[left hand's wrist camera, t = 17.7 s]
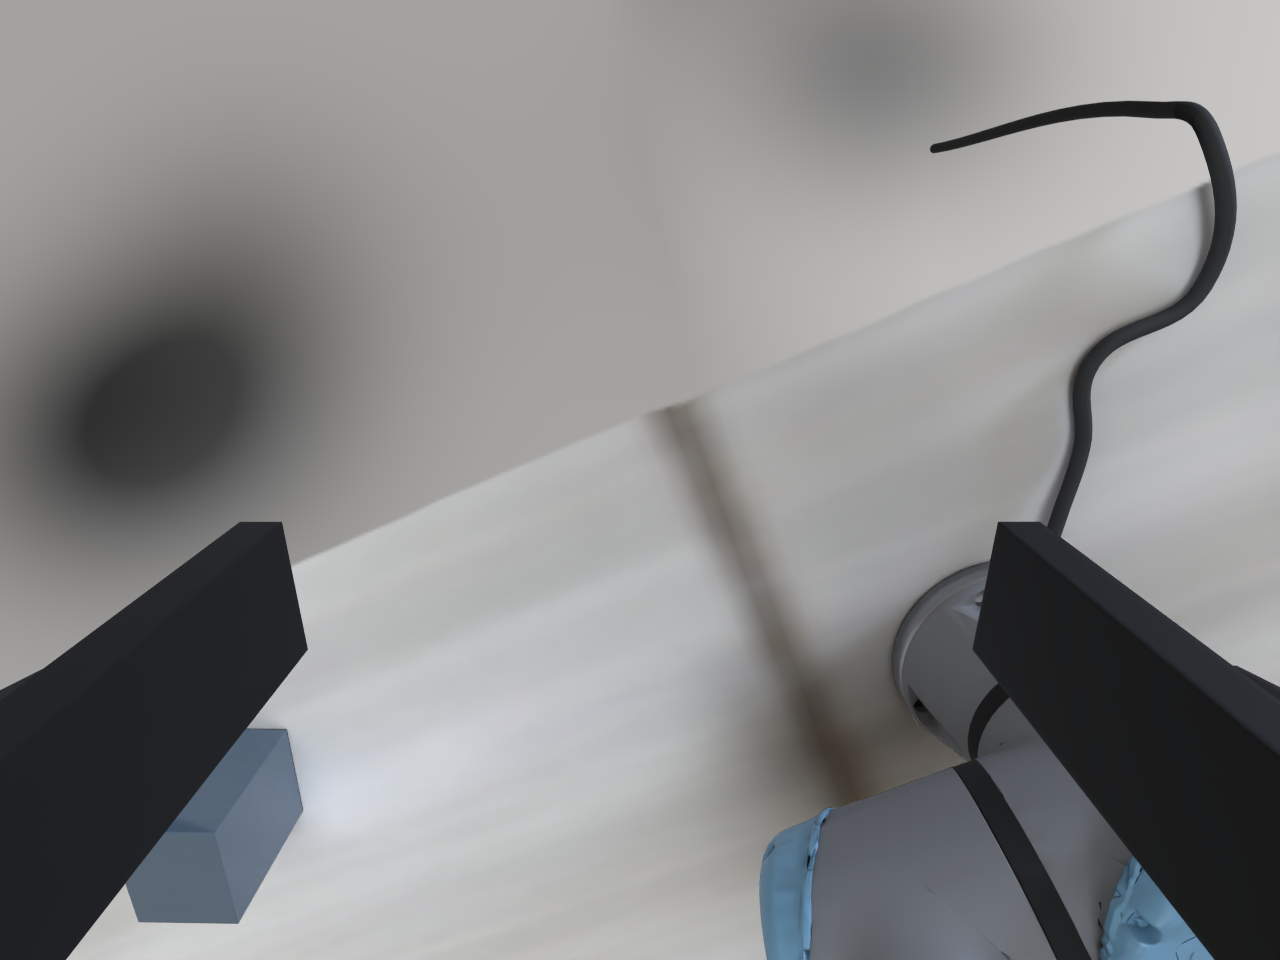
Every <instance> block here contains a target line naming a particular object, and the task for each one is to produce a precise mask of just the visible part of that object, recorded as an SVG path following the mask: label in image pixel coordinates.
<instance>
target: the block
mask: <svg viewBox="0 0 1280 960" xmlns="http://www.w3.org/2000/svg"><path fill="white" fill-rule="evenodd" d="M302 812H303V809H302V804H301V799H300V794H299V789H298V784H297V779H296V774H295V769H294V764H293V759H292V754H291V749H290V744H289V739H288V735H287V730H280V729H245V731H244V732H243V733H242V734H241V736H240V737H239V738H238V740H237V741H236V742H235V743H234V745H233V746H232V747H231V749H230V750H229V751H228V752H227V754H226V755H225V756H224V758H223V759H222V760H221V761H220V763H219V764H218V765H217V767H216V768H215V769H214V770H213V772H212V773H211V774H210V775H209V777H208V778H207V779H206V781H205V782H204V783H203V784H202V786H201V787H200V788H199V790H198V791H197V792H196V793H195V795H194V796H193V797H192V799H191V800H190V801H189V802H188V804H187V805H186V806H185V808H184V809H183V810H182V811H181V813H180V814H179V815H178V817H177V818H176V819H175V820H174V822H173V823H172V824H171V825H170V827H169V828H168V829H167V831H166V832H165V833H164V834H163V836H162V837H161V838H160V840H159V841H158V842H157V843H156V845H155V846H154V847H153V849H152V850H151V851H150V852H149V854H148V855H147V856H146V858H145V859H144V860H143V861H142V863H141V864H140V865H139V867H138V868H137V869H136V870H135V872H134V873H133V874H132V876H131V877H130V878H129V879H128V881H127V882H126V883H125V884H126V887H127V890H128V892H129V895H130V898H131V901H132V904H133V907H134V910H135V913H136V916H137V919H138V922H159V923H224V924H238V923H239V922H240V920H241V918H242V916H243V915H244V913H245V911H246V909H247V908H248V906H249V904H250V902H251V901H252V899H253V897H254V895H255V894H256V892H257V890H258V888H259V887H260V885H261V883H262V881H263V880H264V878H265V876H266V874H267V873H268V871H269V869H270V867H271V866H272V864H273V862H274V860H275V859H276V857H277V855H278V853H279V852H280V850H281V848H282V846H283V845H284V843H285V841H286V840H287V838H288V836H289V834H290V833H291V831H292V829H293V827H294V826H295V824H296V822H297V820H298V819H299V817H300V815H301V813H302Z"/></svg>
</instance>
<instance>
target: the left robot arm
mask: <svg viewBox="0 0 1280 960" xmlns="http://www.w3.org/2000/svg"><path fill="white" fill-rule="evenodd" d="M1098 117H1139V118H1154V119H1179V120H1183V121H1185V122H1187V123H1188V124H1189V125H1191V126H1192V128H1193V129H1194V131H1195V133H1196V135H1197V137H1198V140H1199V143H1200V145H1201V148H1202V150H1203V153H1204V157H1205V159H1206V163H1207V166H1208V170H1209V173H1210V177H1211V182H1212V187H1213V194H1214V202H1215V225H1214V233H1213V239H1212V243H1211V247H1210V250H1209V253H1208V256H1207V259H1206V261H1205V264H1204V266H1203V268H1202V270H1201V273H1200V274H1199V276H1198V278H1197V280H1196V282H1195V284H1194V285H1193V287H1192V288H1191V289H1190V291H1189V292H1188V294H1187V295H1185V296H1184V297H1183V298H1182V299H1181V300H1180V301H1179V302H1177V303H1176V304H1175V305H1173V306H1172V307H1170V308H1168V309H1166V310H1164V311H1162V312H1160V313H1158V314H1155V315H1153V316H1150V317H1148V318H1145V319H1143V320H1140V321H1138V322H1135V323H1133V324H1130V325H1128V326H1126V327H1123V328H1121V329H1120V330H1118V331H1116V332H1114V333H1112V334H1111V335H1109V336H1108V337H1106V338H1105V339H1103V340H1102V341H1101V342H1100V343H1099V344H1098V345H1096V346H1095V347H1094V348H1093V349H1092V350H1091V352H1090V353H1089V354H1088V356H1087V357H1086V358H1085V360H1084V361H1083V363H1082V365H1081V367H1080V368H1079V371H1078V373H1077V376H1076V379H1075V383H1074V389H1073V410H1074V420H1075V440H1074V446H1073V450H1072V455H1071V458H1070V462H1069V465H1068V469H1067V472H1066V475H1065V477H1064V480H1063V483H1062V486H1061V488H1060V491H1059V494H1058V497H1057V499H1056V502H1055V505H1054V508H1053V511H1052V514H1051V517H1050V520H1049V523H1048V526H1047V527H1046V526H1045V525H1043V524H1042V523H1041V522H998V525H997V530H996V535H995V540H994V545H993V550H992V555H991V560H990V562H988V563H984V564H980V565H976V566H973V567H971V568H968V569H965V570H963V571H961V572H959V573H956V574H954V575H953V576H951V577H949V578H947V579H945V580H944V581H942V582H941V583H939V584H938V585H936V586H935V587H934V588H933V589H931V590H930V591H929V592H928V593H927V594H926V595H924V596H923V597H922V598H921V599H920V600H919V601H918V603H917V604H916V605H915V606H914V607H913V608H912V610H911V611H910V613H909V614H908V615H907V617H906V619H905V620H904V622H903V624H902V626H901V628H900V630H899V632H898V635H897V638H896V641H895V645H894V650H893V674H894V678H895V682H896V684H897V687H898V689H899V691H900V693H901V695H902V697H903V699H904V700H905V702H906V704H907V706H908V708H909V710H910V712H911V714H912V716H913V718H914V717H915V718H916V719H917V720H918V722H919V723H920V724H921V725H922V726H924V727H925V728H926V729H927V730H928V731H930V732H931V733H932V734H934V735H935V736H936V737H937V738H939V739H940V740H941V741H942V742H944V743H945V744H946V745H948V746H949V747H950V748H951V749H953V750H954V751H955V752H956V753H958V754H959V755H960V756H961V757H963V758H964V759H965V760H967V761H968V762H966V763H963V764H960V765H958V766H955V767H950V768H948V769H945V770H942V771H940V772H937V773H934V774H931V775H929V776H926V777H923V778H920V779H918V780H915V781H912V782H909V783H907V784H904V785H901V786H899V787H896V788H893V789H890V790H888V791H885V792H882V793H879V794H876V795H873V796H870V797H867V798H864V799H862V800H859V801H856V802H853V803H850V804H847V805H844V806H841V807H838V808H827V809H824V810H823V811H822V812H821V813H820V814H819V815H818V816H816V817H814V818H811V819H809V820H807V821H805V822H803V823H800V824H798V825H795V826H793V827H791V828H788V829H786V830H784V831H782V832H780V833H778V834H777V835H776V836H775V837H774V838H773V839H772V840H771V841H770V843H769V844H768V846H767V848H766V851H765V853H764V856H763V861H762V868H761V871H760V893H759V894H760V911H761V922H762V931H763V938H764V945H765V951H766V957H767V960H1280V687H1278V686H1276V685H1274V684H1272V683H1270V682H1268V681H1266V680H1264V679H1262V678H1260V677H1258V676H1256V675H1254V674H1252V673H1250V672H1248V671H1246V670H1244V669H1242V668H1240V667H1238V666H1232V665H1231V664H1230V663H1228V662H1227V661H1226V660H1224V659H1223V658H1222V657H1220V656H1219V655H1218V654H1216V653H1215V652H1214V651H1212V650H1211V649H1210V648H1208V647H1207V646H1206V645H1204V644H1203V643H1202V642H1200V641H1199V640H1198V639H1196V638H1195V637H1194V636H1192V635H1191V634H1189V633H1188V632H1187V631H1185V630H1184V629H1183V628H1181V627H1180V626H1179V625H1177V624H1176V623H1175V622H1173V621H1172V620H1171V619H1169V618H1168V617H1167V616H1165V615H1164V614H1163V613H1161V612H1160V611H1159V610H1157V609H1156V608H1155V607H1153V606H1152V605H1151V604H1149V603H1148V602H1147V601H1145V600H1144V599H1143V598H1141V597H1140V596H1139V595H1137V594H1136V593H1135V592H1133V591H1132V590H1131V589H1129V588H1128V587H1126V586H1125V585H1124V584H1122V583H1121V582H1120V581H1118V580H1117V579H1116V578H1114V577H1113V576H1112V575H1110V574H1109V573H1108V572H1106V571H1105V570H1104V569H1102V568H1101V567H1100V566H1098V565H1097V564H1096V563H1094V562H1093V561H1092V560H1090V559H1089V558H1088V557H1086V556H1085V555H1084V554H1082V553H1081V552H1080V551H1078V550H1077V549H1076V548H1074V547H1073V546H1072V545H1070V544H1069V543H1068V542H1066V541H1065V540H1063V539H1062V538H1061V534H1062V531H1063V529H1064V526H1065V523H1066V520H1067V517H1068V514H1069V511H1070V508H1071V505H1072V503H1073V500H1074V497H1075V494H1076V492H1077V489H1078V486H1079V484H1080V481H1081V478H1082V475H1083V472H1084V469H1085V466H1086V462H1087V459H1088V455H1089V451H1090V446H1091V441H1092V413H1091V399H1090V396H1091V385H1092V382H1093V378H1094V376H1095V373H1096V372H1097V370H1098V368H1099V366H1100V365H1101V364H1102V362H1103V361H1104V360H1105V359H1106V358H1107V357H1108V356H1109V355H1110V354H1111V353H1112V352H1113V351H1115V350H1116V349H1118V348H1119V347H1121V346H1122V345H1124V344H1126V343H1128V342H1130V341H1133V340H1135V339H1137V338H1140V337H1142V336H1145V335H1147V334H1150V333H1152V332H1155V331H1157V330H1160V329H1162V328H1165V327H1167V326H1169V325H1171V324H1173V323H1175V322H1177V321H1179V320H1181V319H1182V318H1184V317H1185V316H1187V315H1188V314H1189V313H1191V312H1192V311H1193V310H1194V309H1195V308H1196V307H1197V306H1198V305H1199V304H1200V303H1202V302H1203V300H1204V299H1205V298H1206V296H1207V295H1208V294H1209V292H1210V291H1211V289H1212V288H1213V286H1214V284H1215V282H1216V281H1217V279H1218V277H1219V275H1220V273H1221V271H1222V269H1223V266H1224V264H1225V262H1226V259H1227V256H1228V253H1229V251H1230V247H1231V243H1232V239H1233V236H1234V230H1235V223H1236V211H1237V202H1236V188H1235V180H1234V175H1233V170H1232V166H1231V162H1230V158H1229V155H1228V152H1227V148H1226V145H1225V143H1224V140H1223V137H1222V135H1221V132H1220V129H1219V127H1218V125H1217V123H1216V121H1215V120H1214V118H1213V117H1212V115H1211V114H1210V113H1209V112H1208V111H1207V109H1206V108H1204V107H1203V106H1202V105H1200V104H1198V103H1195V102H1189V101H1168V102H1158V101H1112V102H1099V103H1091V104H1084V105H1077V106H1072V107H1067V108H1062V109H1057V110H1053V111H1049V112H1045V113H1040V114H1037V115H1033V116H1030V117H1026V118H1022V119H1019V120H1016V121H1013V122H1009V123H1006V124H1003V125H1000V126H996V127H993V128H990V129H987V130H983V131H980V132H977V133H974V134H970V135H967V136H964V137H960V138H957V139H953V140H949V141H945V142H941V143H936V144H933V145H932V146H931V147H930V152H931V153H939V152H944V151H949V150H954V149H958V148H962V147H966V146H970V145H974V144H977V143H981V142H985V141H988V140H992V139H995V138H999V137H1002V136H1006V135H1010V134H1013V133H1017V132H1021V131H1024V130H1029V129H1033V128H1037V127H1041V126H1045V125H1050V124H1055V123H1060V122H1066V121H1072V120H1079V119H1088V118H1098ZM307 650H308V648H307V643H306V638H305V633H304V628H303V624H302V619H301V614H300V609H299V604H298V599H297V594H296V589H295V584H294V579H293V574H292V569H291V564H290V560H289V555H288V550H287V545H286V540H285V535H284V530H283V525H282V522H239V523H238V524H237V525H235V526H234V527H233V528H231V529H230V530H229V531H227V532H226V533H225V534H223V535H222V536H221V537H219V538H218V539H217V540H215V541H214V542H213V543H211V544H210V545H208V546H207V547H206V548H205V549H203V550H202V551H200V552H199V553H198V554H196V555H195V556H194V557H192V558H191V559H190V560H188V561H187V562H186V563H184V564H183V565H182V566H180V567H179V568H178V569H176V570H175V571H174V572H172V573H171V574H170V575H168V576H167V577H166V578H164V579H163V580H162V581H160V582H159V583H158V584H156V585H155V586H154V587H152V588H151V589H150V590H148V591H147V592H145V593H144V594H143V595H141V596H140V597H139V598H137V599H136V600H135V601H133V602H132V603H131V604H129V605H128V606H127V607H125V608H124V609H123V610H121V611H120V612H119V613H117V614H116V615H115V616H113V617H112V618H111V619H109V620H108V621H107V622H105V623H104V624H103V625H101V626H100V627H99V628H97V629H96V630H95V631H93V632H92V633H91V634H89V635H88V636H87V637H85V638H84V639H82V640H81V641H80V642H78V643H77V644H76V645H74V646H73V647H72V648H70V649H69V650H68V651H66V652H65V653H64V654H62V655H61V656H60V657H58V658H57V659H56V660H54V661H53V662H52V663H50V664H49V665H48V666H46V667H45V668H44V669H42V670H40V671H38V672H36V673H34V674H32V675H30V676H28V677H26V678H24V679H22V680H20V681H18V682H16V683H14V684H12V685H10V686H8V687H6V688H4V689H2V690H0V960H66V959H67V958H68V956H69V955H70V954H71V952H72V951H73V950H74V949H75V947H76V946H77V945H78V943H79V942H80V941H81V940H82V938H83V937H84V936H85V934H86V933H87V932H88V931H89V929H90V928H91V927H92V926H93V924H94V923H95V922H96V920H97V919H98V918H99V917H100V915H101V914H102V913H103V911H104V910H105V909H106V908H107V906H108V905H109V904H110V902H111V901H112V900H113V899H114V897H115V896H116V895H117V893H118V892H119V891H120V890H121V888H122V887H123V886H124V884H125V883H126V882H127V881H128V879H129V878H130V877H131V876H132V874H133V873H134V872H135V870H136V869H137V868H138V867H139V865H140V864H141V863H142V861H143V860H144V859H145V858H146V856H147V855H148V854H149V852H150V851H151V850H152V849H153V847H154V846H155V845H156V843H157V842H158V841H159V840H160V838H161V837H162V836H163V834H164V833H165V832H166V831H167V829H168V828H169V827H170V825H171V824H172V823H173V822H174V820H175V819H176V818H177V817H178V815H179V814H180V813H181V811H182V810H183V809H184V808H185V806H186V805H187V804H188V802H189V801H190V800H191V799H192V797H193V796H194V795H195V793H196V792H197V791H198V790H199V788H200V787H201V786H202V784H203V783H204V782H205V781H206V779H207V778H208V777H209V775H210V774H211V773H212V772H213V770H214V769H215V768H216V767H217V765H218V764H219V763H220V761H221V760H222V759H223V758H224V756H225V755H226V754H227V752H228V751H229V750H230V749H231V747H232V746H233V745H234V743H235V742H236V741H237V740H238V738H239V737H240V736H241V734H242V733H243V732H244V731H245V729H246V728H247V727H248V725H249V724H250V723H251V722H252V720H253V719H254V718H255V717H256V715H257V714H258V713H259V711H260V710H261V709H262V708H263V706H264V705H265V704H266V702H267V701H268V700H269V699H270V697H271V696H272V695H273V693H274V692H275V691H276V690H277V688H278V687H279V686H280V684H281V683H282V682H283V681H284V679H285V678H286V677H287V675H288V674H289V673H290V672H291V670H292V669H293V668H294V667H295V665H296V664H297V663H298V661H299V660H300V659H301V658H302V656H303V655H304V654H305V652H306V651H307ZM915 718H914V720H915ZM915 722H916V720H915ZM916 724H917V722H916ZM917 726H918V724H917ZM918 727H919V726H918ZM919 729H920V728H919ZM920 731H921V730H920ZM921 733H922V732H921ZM922 735H923V734H922ZM923 737H924V736H923Z"/></svg>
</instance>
